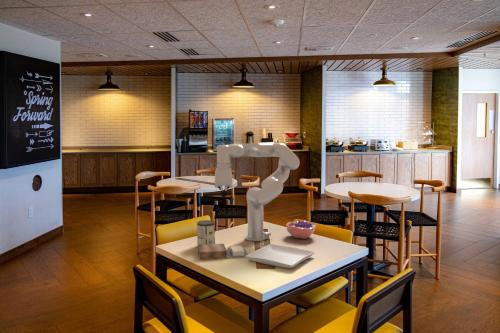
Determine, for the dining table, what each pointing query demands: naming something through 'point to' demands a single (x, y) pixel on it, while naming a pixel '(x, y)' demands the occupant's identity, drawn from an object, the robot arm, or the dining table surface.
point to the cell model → (300, 229)
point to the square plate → (280, 255)
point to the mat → (236, 256)
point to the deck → (212, 251)
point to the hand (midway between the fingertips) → (223, 197)
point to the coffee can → (205, 232)
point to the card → (237, 251)
